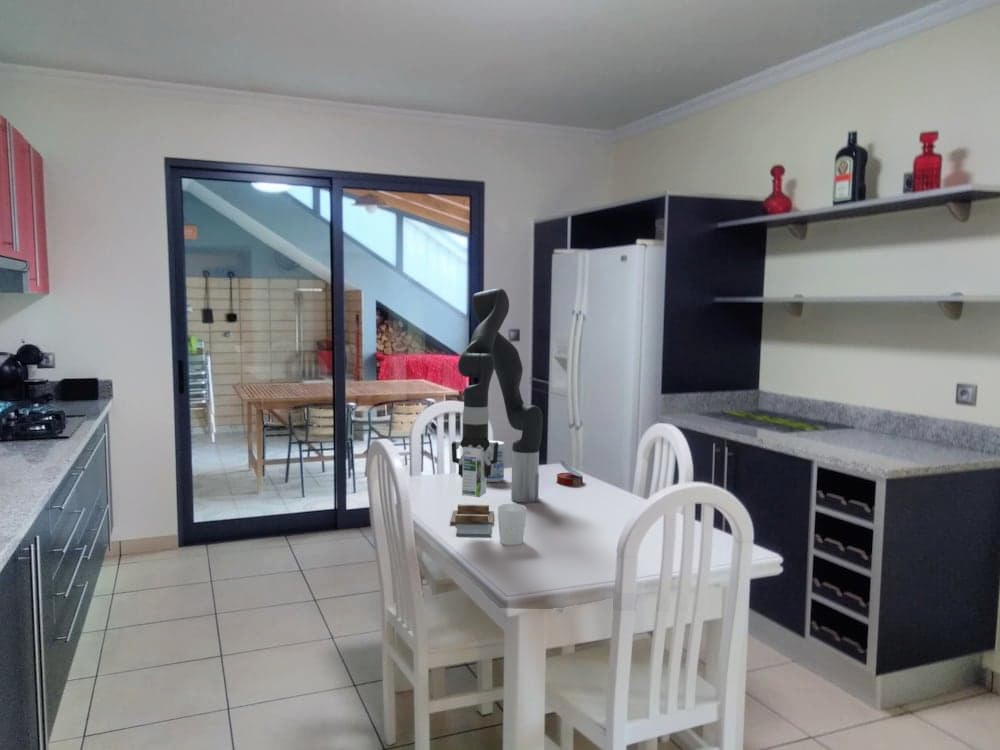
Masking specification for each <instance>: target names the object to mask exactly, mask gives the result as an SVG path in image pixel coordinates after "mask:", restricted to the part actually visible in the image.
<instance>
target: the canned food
mask: <svg viewBox="0 0 1000 750" xmlns="http://www.w3.org/2000/svg"><path fill="white" fill-rule="evenodd" d="M559 463H560V465H561V466H562V468H563V469H564V470H565V471H567V472H560V473H557V474H556V484H558V485H561V486H565V487H576V486H577V485H578V486H582V485H583V478H584V477H583V475H582V474H581V473H580V472H578V471H577V470H575V469H573V468H572V467H570V466H569V465H568V464H566V463H565V461H564V460H560V461H559ZM581 484H582V485H581Z"/></svg>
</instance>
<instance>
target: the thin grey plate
mask: <svg viewBox="0 0 1000 750" xmlns="http://www.w3.org/2000/svg"><path fill="white" fill-rule="evenodd" d="M491 536H492V526H491V524H469V523H458V525H457V528H456V533H455V537H480V538H481V537H482V538H483V537H485V538H487V537H488V538H491Z"/></svg>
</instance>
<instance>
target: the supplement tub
mask: <svg viewBox="0 0 1000 750" xmlns="http://www.w3.org/2000/svg"><path fill="white" fill-rule="evenodd" d="M489 442H492V443H495V442H498V456H497V463H494V464H492V465H491V475H490V476H488V478H486V483H498V482H502V481H503V480H504V476H505V472H504V471H505V441H500V440H489ZM493 454H494V450H492V449H491V446H489V447H488V448H487V455H488V457H489V458H490V459H493Z"/></svg>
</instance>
